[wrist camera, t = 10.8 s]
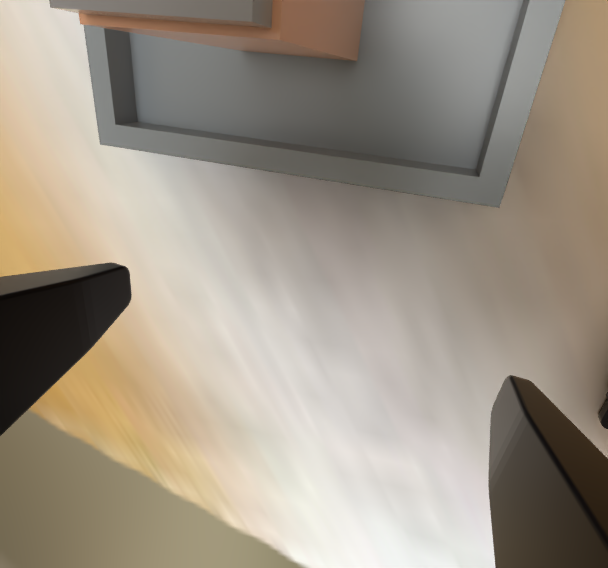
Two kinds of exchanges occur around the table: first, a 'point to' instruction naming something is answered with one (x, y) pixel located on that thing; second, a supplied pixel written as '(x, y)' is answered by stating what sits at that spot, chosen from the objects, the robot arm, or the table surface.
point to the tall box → (236, 23)
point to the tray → (342, 98)
